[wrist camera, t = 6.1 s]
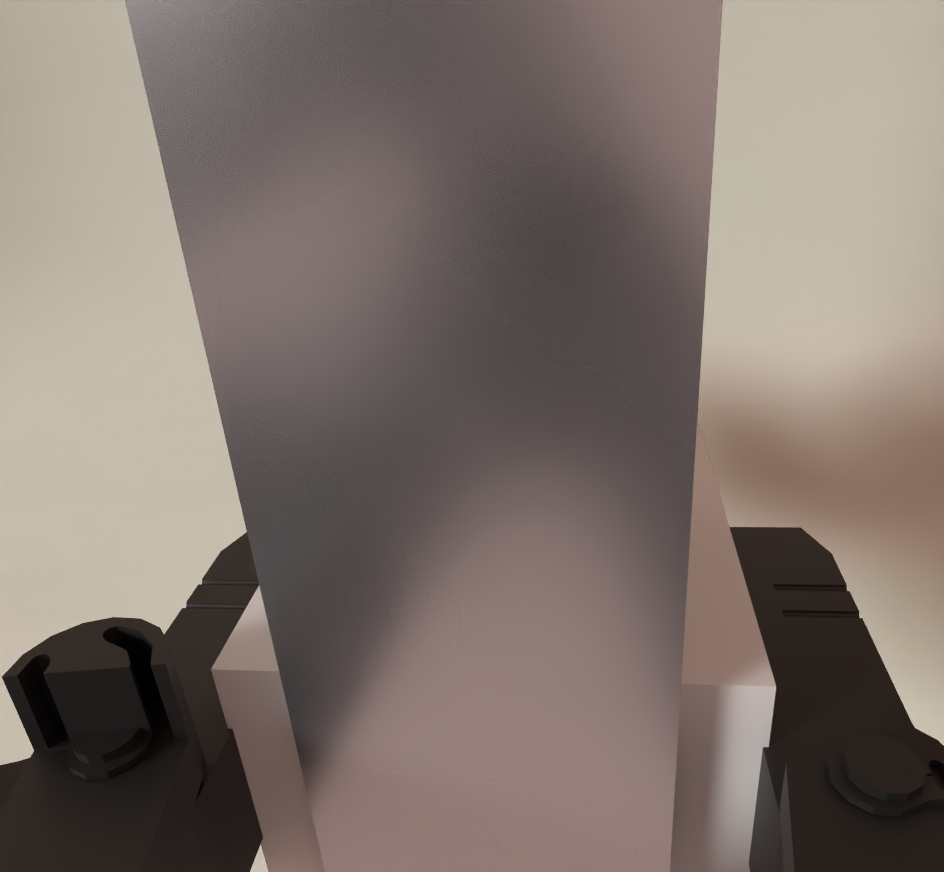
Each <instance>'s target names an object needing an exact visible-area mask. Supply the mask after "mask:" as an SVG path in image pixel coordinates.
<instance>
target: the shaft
mask: <svg viewBox="0 0 944 872" xmlns="http://www.w3.org/2000/svg"><path fill="white" fill-rule="evenodd" d="M125 2H126V7H127V11H128V15H129V20H130V24H131V28H132V33H133V37H134V42H135V46H136V50H137V55H138V59H139V63H140V68H141V72H142V76H143V81H144V85H145V89H146V94H147V98H148V103H149V107H150V111H151V116H152V120H153V124H154V129H155V133H156V137H157V142H158V146H159V150H160V155H161V159H162V163H163V168H164V172H165V177H166V181H167V185H168V190H169V194H170V198H171V203H172V207H173V211H174V216H175V220H176V224H177V229H178V233H179V238H180V242H181V246H182V251H183V255H184V259H185V264H186V268H187V272H188V277H189V281H190V285H191V290H192V294H193V299H194V303H195V307H196V312H197V316H198V320H199V325H200V329H201V333H202V338H203V342H204V346H205V351H206V355H207V360H208V364H209V368H210V373H211V377H212V381H213V386H214V390H215V394H216V399H217V403H218V407H219V412H220V416H221V421H222V425H223V429H224V434H225V438H226V442H227V447H228V451H229V455H230V460H231V464H232V468H233V473H234V477H235V482H236V486H237V490H238V495H239V499H240V503H241V508H242V512H243V516H244V521H245V525H246V529H247V534H248V538H249V543H250V547H251V551H252V556H253V560H254V564H255V569H256V573H257V577H258V582H259V586H260V590H261V595H262V599H263V603H264V608H265V612H266V617H267V621H268V625H269V630H270V634H271V638H272V643H273V647H274V651H275V656H276V660H277V664H278V669H279V673H280V678H281V682H282V686H283V691H284V695H285V699H286V704H287V708H288V712H289V717H290V721H291V725H292V730H293V734H294V739H295V743H296V747H297V752H298V756H299V760H300V765H301V769H302V773H303V778H304V782H305V786H306V791H307V795H308V800H309V804H310V808H311V813H312V817H313V821H314V826H315V830H316V834H317V839H318V843H319V847H320V852H321V856H322V861H323V865H324V869H325V872H670V861H671V844H672V828H673V811H674V795H675V778H676V762H677V745H678V729H679V712H680V696H681V679H682V663H683V646H684V630H685V613H686V597H687V580H688V564H689V547H690V531H691V514H692V498H693V481H694V465H695V448H696V432H697V415H698V399H699V382H700V365H701V349H702V332H703V316H704V299H705V283H706V266H707V250H708V233H709V217H710V200H711V184H712V167H713V151H714V134H715V118H716V101H717V85H718V68H719V52H720V35H721V19H722V2H723V0H125Z"/></svg>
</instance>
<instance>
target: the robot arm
mask: <svg viewBox="0 0 944 872" xmlns="http://www.w3.org/2000/svg"><path fill="white" fill-rule="evenodd" d="M846 586H847V585H846V583H845V581H844V579H843V576H842V574H841V572H840V570H839V568H838V566H837V564H836V562H835V560H834V557H833V555H832V554H831V553H830V552H829V551H828V550H827V549H825V548H824V547H823V546H822V545H821V544H819V543H818V542H817V541H816V540H815V539H813V538H812V537H811V536H810V535H809V534H808V533H806V532H805V531H804V530H803V529H802V528H777V527H729V524H728V521H727V517H726V514H725V510H724V507H723V504H722V500H721V497H720V493H719V490H718V487H717V483H716V480H715V476H714V473H713V470H712V466H711V463H710V459H709V456H708V453H707V449H706V446H705V442H704V439H703V436H702V432H701V429H700V425H699V422H698V419H697V432H696V448H695V465H694V481H693V498H692V514H691V531H690V547H689V564H688V580H687V597H686V613H685V630H684V646H683V663H682V679H681V696H680V712H679V729H678V745H677V762H676V778H675V795H674V811H673V828H672V844H671V861H670V872H944V746H943V745H942V744H941V743H940V742H939V741H938V740H936V739H934V738H932V737H931V736H929V735H927V734H925V733H923V732H921V731H919V730H917V729H916V728H915V727H914V726H913V724H912V723H911V720H910V718H909V716H908V714H907V712H906V710H905V708H904V706H903V703H902V701H901V699H900V697H899V695H898V693H897V691H896V689H895V687H894V684H893V682H892V680H891V678H890V676H889V674H888V672H887V670H886V668H885V665H884V663H883V661H882V659H881V657H880V655H879V653H878V651H877V648H876V646H875V644H874V642H873V640H872V638H871V636H870V634H869V632H868V629H867V627H866V625H865V623H864V621H863V619H862V618H859V610H858V608H857V606H856V604H855V602H854V600H853V598H852V596H851V593H850V591H847V588H846ZM186 603H187V606H186V608H182V609H181V611H180V612H179V614H178V615H177V617H176V618H175V620H174V621H173V623H172V624H171V626H170V627H169V629H168V630H167V631H166V633H165V634H163V632H162V631H161V629H160V627H157V626H155V625H153V624H151V623H149V622H147V621H144V620H142V619H136V618H118V617H113V618H107V619H102V620H97V621H92V622H87V623H82V624H80V625H77V626H75V627H72V628H70V629H68V630H65V631H63V632H60V633H58V634H55V635H53V636H51V637H49V638H48V639H46V640H45V641H43V642H42V643H40V644H39V645H37V646H35V647H34V648H32V649H31V650H29V651H28V652H26V653H25V654H23V655H22V656H21V657H20V658H19V659H18V660H17V661H16V663H15V664H14V665H13V666H12V667H11V668H10V669H9V670H8V671H7V672H6V673H5V674H4V675H3V676H2V678H3V681H4V683H5V685H6V687H7V690H8V692H9V694H10V696H11V699H12V701H13V703H14V706H15V708H16V710H17V712H18V715H19V717H20V719H21V721H22V724H23V726H24V728H25V731H26V733H27V735H28V737H29V740H30V742H31V744H32V746H33V749H34V752H33V754H32V756H31V757H30V758H28V759H25V760H21V761H18V762H13V763H9V764H4V765H0V872H250V870H251V867H252V864H253V862H254V859H255V857H256V854H257V852H258V849H259V846H260V844H261V846H262V850H263V853H264V857H265V860H266V864H267V867H268V871H269V872H325V869H324V865H323V861H322V856H321V852H320V847H319V843H318V839H317V834H316V830H315V826H314V821H313V817H312V813H311V808H310V804H309V800H308V795H307V791H306V786H305V782H304V778H303V773H302V769H301V765H300V760H299V756H298V752H297V747H296V743H295V739H294V734H293V730H292V725H291V721H290V717H289V712H288V708H287V704H286V699H285V695H284V691H283V686H282V682H281V678H280V673H279V669H278V664H277V660H276V656H275V651H274V647H273V643H272V638H271V634H270V630H269V625H268V621H267V617H266V612H265V608H264V603H263V599H262V595H261V590H260V586H259V582H258V577H257V573H256V569H255V564H254V560H253V556H252V551H251V547H250V543H249V538H248V534H247V532H246V533H245V534H244V535H242V536H241V537H240V538H238V539H237V540H236V541H234V542H233V543H232V544H230V545H229V546H228V547H226V548H225V549H224V550H222V551H221V552H220V554H219V555H218V557H217V558H216V560H215V561H214V562H213V564H212V565H211V567H210V568H209V570H208V571H207V573H206V574H205V576H204V577H203V579H202V585H198V586H197V587H196V589H195V590H194V592H193V593H192V595H191V596H190V598H189V599H188V601H187V602H186Z"/></svg>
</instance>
